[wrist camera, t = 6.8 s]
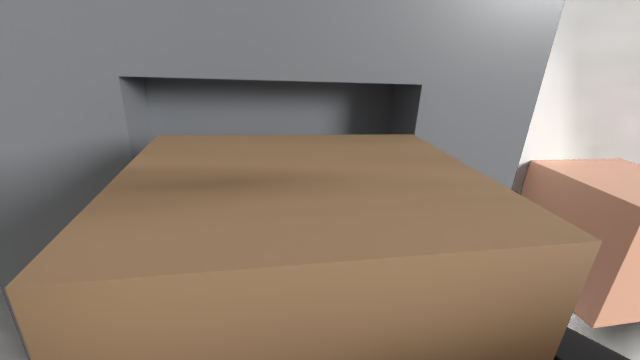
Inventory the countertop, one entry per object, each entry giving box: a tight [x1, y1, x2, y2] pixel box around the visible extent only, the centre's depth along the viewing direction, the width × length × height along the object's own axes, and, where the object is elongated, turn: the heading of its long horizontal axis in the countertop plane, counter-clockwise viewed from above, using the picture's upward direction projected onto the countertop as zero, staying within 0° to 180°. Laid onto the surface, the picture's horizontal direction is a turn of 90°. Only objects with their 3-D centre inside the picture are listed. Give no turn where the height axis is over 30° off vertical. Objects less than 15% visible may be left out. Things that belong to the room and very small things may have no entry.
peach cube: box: [521, 158, 640, 328], centre depth 14 cm, size 5×5×5 cm
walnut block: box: [5, 134, 602, 360], centre depth 7 cm, size 6×6×5 cm
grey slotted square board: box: [0, 0, 565, 360], centre depth 12 cm, size 16×16×3 cm
